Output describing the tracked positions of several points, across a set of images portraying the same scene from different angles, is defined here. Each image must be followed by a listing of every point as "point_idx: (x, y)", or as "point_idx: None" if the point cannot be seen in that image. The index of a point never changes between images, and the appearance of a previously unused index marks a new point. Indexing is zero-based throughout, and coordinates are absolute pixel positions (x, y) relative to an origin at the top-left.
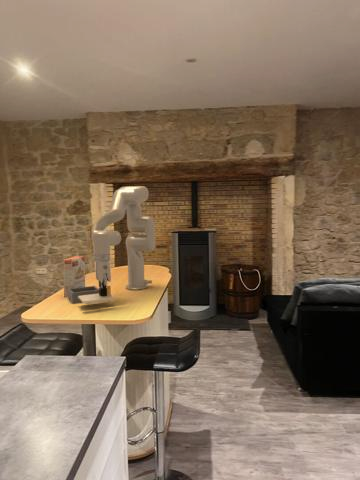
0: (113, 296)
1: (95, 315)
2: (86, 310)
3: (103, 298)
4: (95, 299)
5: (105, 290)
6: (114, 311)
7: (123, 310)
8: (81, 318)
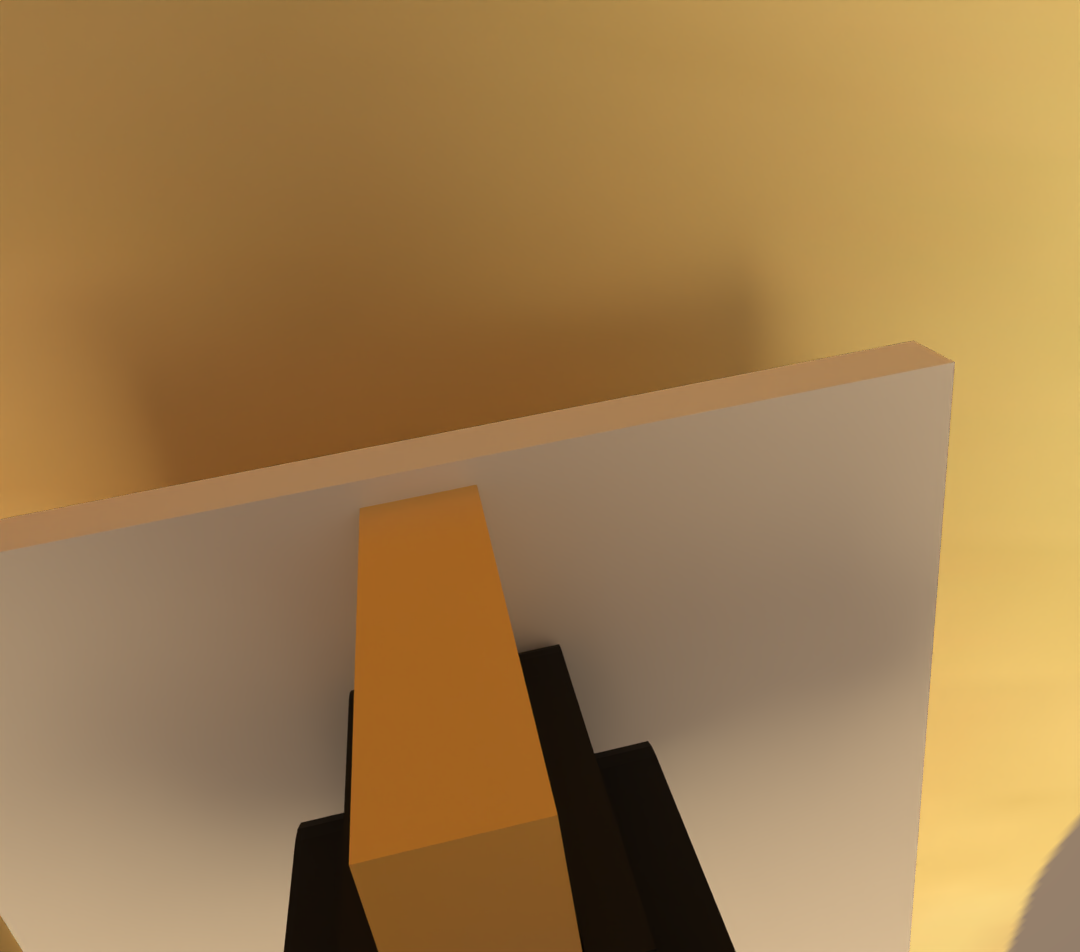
0: (786, 395)
1: (998, 692)
2: None
3: (879, 742)
4: (868, 930)
5: (701, 881)
6: (962, 302)
7: (1018, 35)
8: (1017, 875)
